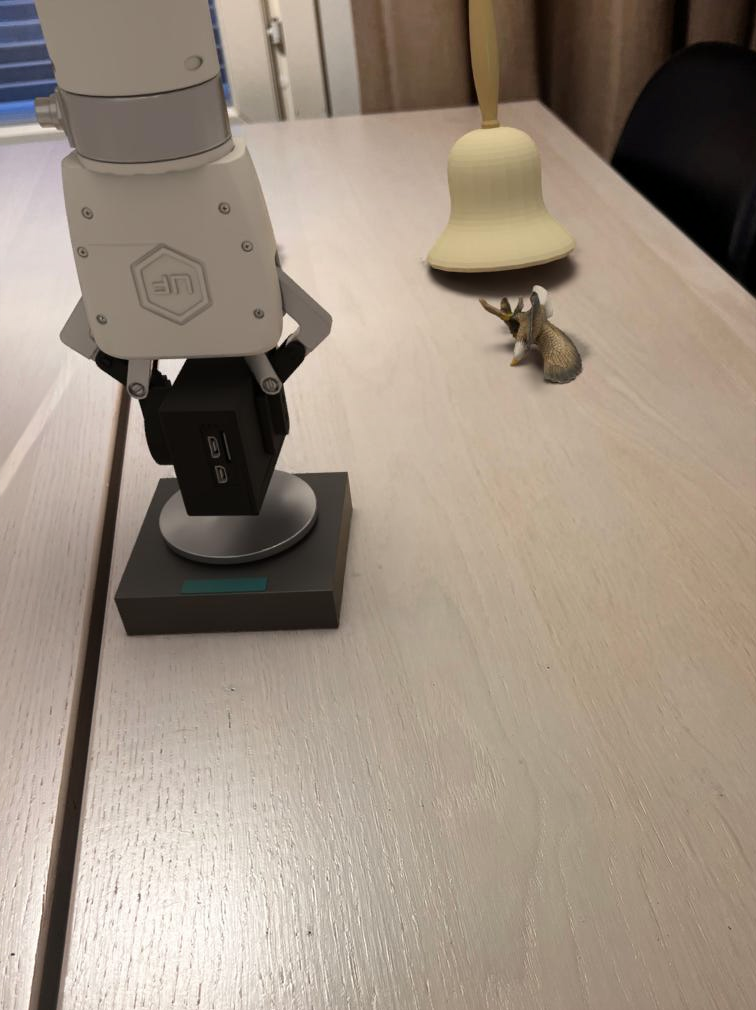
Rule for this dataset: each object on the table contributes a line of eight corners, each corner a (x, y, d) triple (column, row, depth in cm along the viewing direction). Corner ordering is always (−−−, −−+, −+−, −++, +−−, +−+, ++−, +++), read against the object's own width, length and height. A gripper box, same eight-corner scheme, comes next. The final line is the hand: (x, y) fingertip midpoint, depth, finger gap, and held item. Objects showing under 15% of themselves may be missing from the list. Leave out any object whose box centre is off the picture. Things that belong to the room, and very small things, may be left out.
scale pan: (147, 572, 60) (142, 559, 59) (179, 482, 67) (176, 469, 67) (310, 567, 60) (308, 553, 59) (325, 477, 68) (323, 464, 67)
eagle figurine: (460, 343, 86) (513, 365, 79) (491, 263, 84) (548, 278, 78) (526, 371, 91) (582, 395, 84) (557, 296, 89) (616, 313, 82)
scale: (126, 635, 60) (112, 596, 58) (169, 513, 70) (159, 476, 68) (338, 628, 60) (332, 588, 58) (352, 507, 70) (347, 469, 68)
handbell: (461, 296, 93) (428, -20, 80) (407, 271, 105) (371, -8, 92) (604, 267, 98) (595, -37, 84) (536, 246, 110) (519, -23, 96)
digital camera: (208, 426, 65) (183, 325, 60) (289, 425, 65) (271, 323, 60) (166, 517, 57) (134, 410, 53) (258, 516, 57) (234, 409, 52)
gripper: (-56, 149, 45) (65, 485, 57) (319, 136, 45) (360, 474, 57) (-2, 105, 51) (99, 419, 63) (332, 94, 51) (368, 410, 63)
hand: (223, 443), depth 60 cm, fingers closed on digital camera, 5 cm apart
